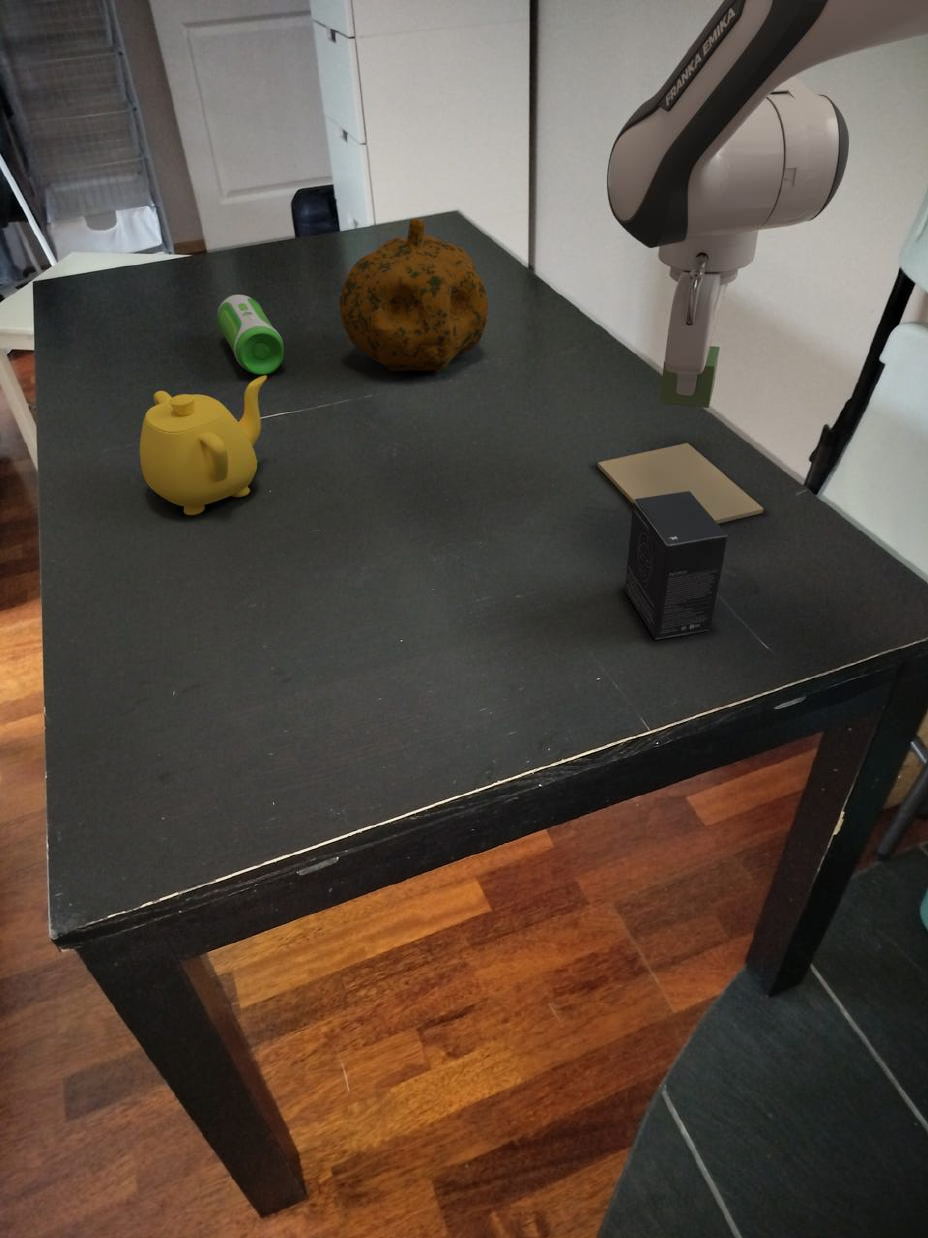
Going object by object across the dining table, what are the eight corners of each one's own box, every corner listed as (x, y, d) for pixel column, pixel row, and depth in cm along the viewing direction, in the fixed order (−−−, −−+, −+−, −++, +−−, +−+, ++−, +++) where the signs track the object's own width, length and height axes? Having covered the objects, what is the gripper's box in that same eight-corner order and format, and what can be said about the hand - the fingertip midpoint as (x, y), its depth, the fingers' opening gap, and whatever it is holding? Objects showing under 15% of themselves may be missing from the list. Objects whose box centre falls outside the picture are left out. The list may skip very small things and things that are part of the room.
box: (712, 630, 78) (730, 535, 72) (653, 641, 78) (666, 545, 71) (677, 580, 84) (690, 487, 78) (622, 590, 84) (631, 497, 77)
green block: (713, 387, 91) (719, 346, 88) (708, 408, 88) (715, 366, 85) (666, 383, 93) (670, 342, 90) (659, 403, 89) (663, 361, 86)
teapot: (252, 524, 96) (228, 428, 88) (131, 521, 97) (97, 427, 90) (285, 461, 106) (266, 370, 99) (175, 460, 108) (148, 370, 100)
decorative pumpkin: (335, 336, 134) (328, 199, 121) (465, 330, 139) (472, 197, 126) (351, 395, 120) (345, 246, 107) (496, 386, 124) (508, 242, 111)
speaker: (291, 373, 127) (282, 323, 122) (242, 383, 125) (231, 333, 120) (265, 333, 139) (256, 286, 134) (221, 342, 137) (210, 294, 133)
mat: (762, 513, 93) (763, 508, 92) (663, 537, 90) (664, 532, 90) (687, 446, 105) (687, 442, 104) (597, 466, 102) (597, 462, 102)
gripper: (733, 277, 72) (710, 428, 81) (750, 210, 86) (729, 343, 95) (657, 273, 73) (642, 421, 82) (686, 207, 88) (671, 339, 97)
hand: (689, 378), depth 89 cm, fingers closed on green block, 5 cm apart
